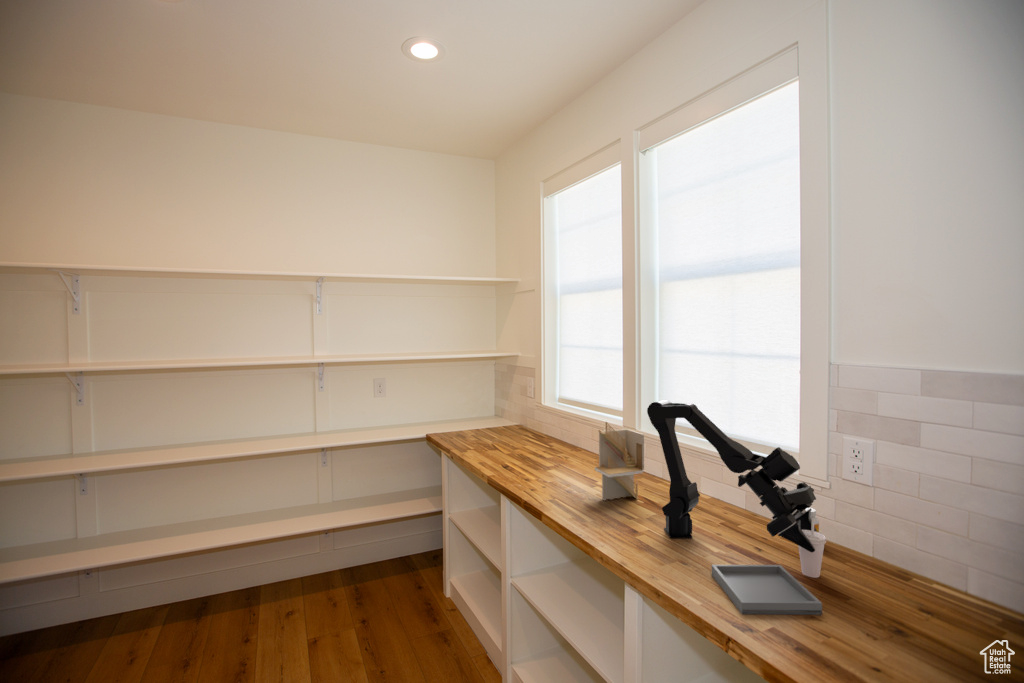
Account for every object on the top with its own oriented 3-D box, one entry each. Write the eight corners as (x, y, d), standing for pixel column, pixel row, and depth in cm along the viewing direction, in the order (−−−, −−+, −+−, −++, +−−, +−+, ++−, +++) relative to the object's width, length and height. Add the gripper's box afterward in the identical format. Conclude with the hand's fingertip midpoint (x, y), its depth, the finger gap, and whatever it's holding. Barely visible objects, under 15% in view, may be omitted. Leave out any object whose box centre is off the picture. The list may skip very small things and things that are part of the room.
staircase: (649, 505, 167) (649, 421, 166) (609, 512, 161) (608, 425, 161) (632, 496, 176) (632, 417, 176) (593, 502, 170) (593, 420, 170)
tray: (741, 614, 102) (741, 602, 102) (711, 574, 118) (711, 564, 118) (822, 614, 101) (822, 603, 101) (780, 575, 118) (780, 564, 118)
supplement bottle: (801, 547, 133) (801, 512, 133) (792, 539, 138) (792, 505, 138) (822, 548, 132) (822, 513, 132) (813, 540, 137) (813, 506, 137)
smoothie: (811, 582, 114) (811, 523, 114) (789, 569, 121) (789, 513, 120) (832, 578, 116) (833, 520, 116) (809, 565, 122) (810, 511, 122)
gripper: (781, 482, 114) (836, 542, 107) (803, 466, 127) (853, 519, 120) (746, 507, 120) (796, 566, 112) (770, 489, 133) (816, 541, 125)
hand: (817, 546), depth 117 cm, fingers closed on smoothie, 6 cm apart
